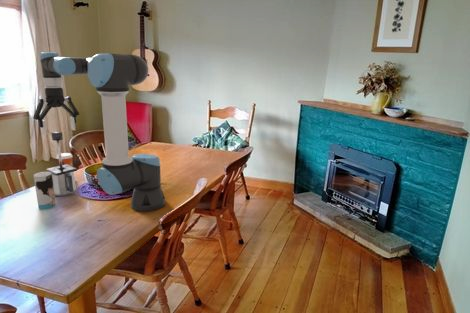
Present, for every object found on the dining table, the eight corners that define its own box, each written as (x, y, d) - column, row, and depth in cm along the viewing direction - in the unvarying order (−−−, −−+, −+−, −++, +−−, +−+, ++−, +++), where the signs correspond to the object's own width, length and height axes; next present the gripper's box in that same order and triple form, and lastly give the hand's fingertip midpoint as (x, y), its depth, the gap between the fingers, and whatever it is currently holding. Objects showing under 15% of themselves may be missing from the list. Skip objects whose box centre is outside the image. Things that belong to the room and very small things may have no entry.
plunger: (73, 175, 157) (68, 132, 151) (58, 179, 151) (52, 135, 145) (66, 172, 161) (60, 130, 155) (50, 176, 155) (44, 132, 149)
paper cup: (68, 182, 170) (65, 157, 166) (55, 181, 172) (52, 155, 168) (78, 177, 178) (75, 153, 174) (66, 176, 179) (63, 152, 175)
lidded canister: (83, 193, 158) (80, 169, 154) (61, 200, 150) (58, 175, 146) (69, 186, 165) (66, 163, 162) (48, 193, 157) (44, 168, 154)
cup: (53, 209, 141) (49, 176, 137) (36, 210, 139) (31, 177, 135) (57, 202, 147) (53, 171, 143) (41, 203, 146) (36, 172, 141)
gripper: (76, 85, 164) (80, 127, 170) (20, 87, 145) (27, 134, 151) (83, 86, 159) (88, 129, 165) (27, 88, 141) (34, 137, 146)
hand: (59, 131), depth 158 cm, fingers open, 13 cm apart
